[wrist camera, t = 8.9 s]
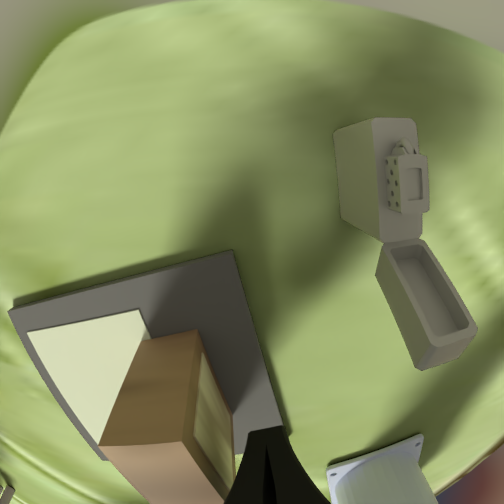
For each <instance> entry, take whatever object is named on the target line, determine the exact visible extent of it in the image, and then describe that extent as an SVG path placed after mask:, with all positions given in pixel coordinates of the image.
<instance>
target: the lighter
mask: <svg viewBox="0 0 504 504" xmlns="http://www.w3.org/2000/svg"><path fill="white" fill-rule="evenodd" d="M333 141H334V149H335V158H336V168H337V179H338V190H339V202H340V217H341V218H342V219H343V220H344V221H346V222H348V223H349V224H351V225H353V226H355V227H356V228H358V229H360V230H362V231H363V232H365V233H367V234H369V235H370V236H372V237H374V238H375V239H377V240H379V241H381V242H382V243H384V244H383V246H382V248H381V252H380V257H379V261H378V265H377V269H376V273H375V276H376V278H377V281H378V283H379V285H380V287H381V289H382V291H383V293H384V296H385V298H386V300H387V302H388V304H389V306H390V309H391V311H392V313H393V315H394V318H395V320H396V322H397V325H398V327H399V329H400V332H401V334H402V336H403V339H404V341H405V344H406V346H407V349H408V351H409V354H410V356H411V359H412V361H413V364H414V366H415V368H417V369H419V370H421V371H423V370H426V369H429V368H432V367H435V366H438V365H441V364H444V363H447V362H449V361H452V360H455V359H458V358H459V356H460V355H461V354H462V353H463V351H464V350H465V349H466V347H467V346H468V345H469V343H470V342H471V341H472V339H473V338H474V337H475V335H476V333H477V329H478V327H477V326H476V324H475V322H474V320H473V318H472V316H471V315H470V313H469V311H468V309H467V307H466V306H465V304H464V302H463V300H462V299H461V297H460V295H459V294H458V292H457V290H456V289H455V287H454V285H453V284H452V282H451V281H450V279H449V277H448V276H447V274H446V273H445V271H444V269H443V268H442V266H441V265H440V263H439V262H438V260H437V259H436V257H435V256H434V254H433V253H432V251H431V250H430V248H429V247H428V245H427V244H426V242H425V241H423V240H421V239H419V237H420V236H421V234H422V213H424V212H428V211H429V180H428V164H427V156H424V155H421V154H419V145H418V136H417V127H416V123H415V122H414V121H413V120H412V119H411V118H389V117H375V118H371V119H368V120H365V121H362V122H359V123H356V124H352V125H349V126H346V127H343V128H340V129H337V130H335V132H334V133H333Z"/></svg>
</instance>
